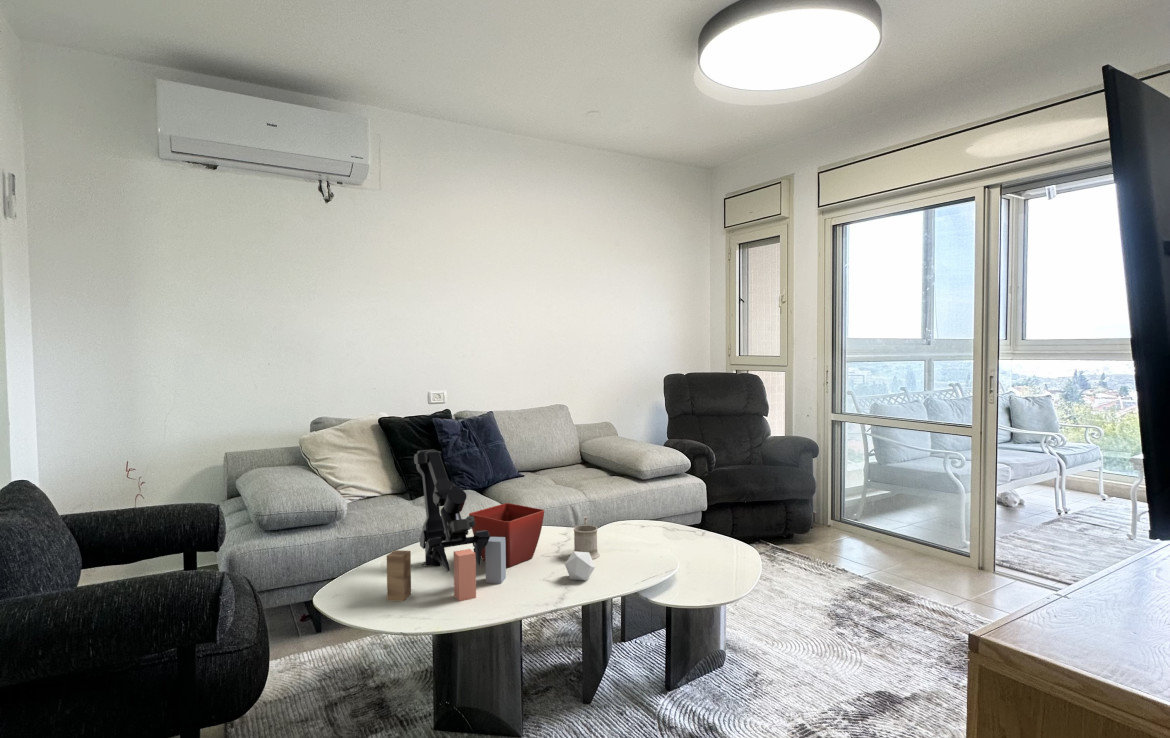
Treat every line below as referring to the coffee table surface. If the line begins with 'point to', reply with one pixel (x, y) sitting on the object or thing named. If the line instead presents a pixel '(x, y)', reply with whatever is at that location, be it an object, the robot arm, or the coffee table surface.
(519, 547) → the plant pot
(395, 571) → the walnut pillar
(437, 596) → the coffee table surface
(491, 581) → the slate pillar
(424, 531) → the robot arm
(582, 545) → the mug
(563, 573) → the coffee table surface
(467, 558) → the salmon block
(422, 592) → the coffee table surface
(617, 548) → the coffee table surface
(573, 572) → the die
